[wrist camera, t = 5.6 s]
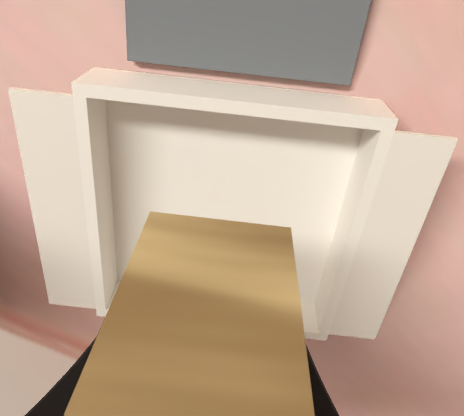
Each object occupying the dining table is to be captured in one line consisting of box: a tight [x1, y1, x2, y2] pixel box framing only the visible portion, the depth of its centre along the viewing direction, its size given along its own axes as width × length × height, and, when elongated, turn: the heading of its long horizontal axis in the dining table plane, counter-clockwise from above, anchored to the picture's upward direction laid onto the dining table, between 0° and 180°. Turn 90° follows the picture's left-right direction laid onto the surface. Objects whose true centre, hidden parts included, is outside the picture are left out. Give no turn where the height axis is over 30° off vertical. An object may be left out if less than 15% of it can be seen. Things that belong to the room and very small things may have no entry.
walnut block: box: [64, 211, 315, 416], centre depth 11 cm, size 7×4×6 cm, turn 174°
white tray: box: [8, 67, 458, 341], centre depth 19 cm, size 17×12×2 cm
